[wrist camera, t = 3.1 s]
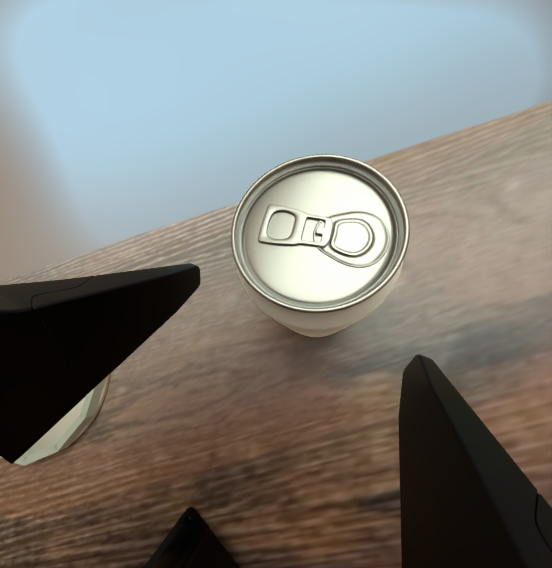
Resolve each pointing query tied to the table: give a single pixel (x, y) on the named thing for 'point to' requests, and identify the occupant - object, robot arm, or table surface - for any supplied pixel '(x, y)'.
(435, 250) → the table surface
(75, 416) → the saucer
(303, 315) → the can
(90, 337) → the robot arm
